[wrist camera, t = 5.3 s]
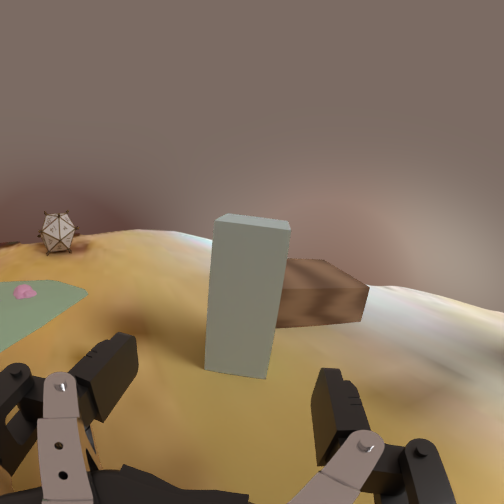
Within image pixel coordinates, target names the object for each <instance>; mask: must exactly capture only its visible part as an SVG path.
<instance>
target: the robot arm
mask: <svg viewBox="0 0 504 504" xmlns="http://www.w3.org/2000/svg"><path fill="white" fill-rule="evenodd" d="M138 365H139V364H138V355H137V345H136V338H135V337H134V336H132V335H128V334H125V333H121V332H118V333H116V334H115V335H114V336H113V337H112V338H111V339H110V340H104V341H102V342H100V343H98V344H97V345H96V346H95V347H94V348H92V349H91V351H89V352H88V353H87V354H86V356H84V357H83V358H82V359H81V360H80V361H79V362H78V363H77V364H76V365H75V366H74V367H73V368H72V369H71V370H70V371H69V372H68V373H66V372H56V373H53V374H51V375H49V376H48V377H47V378H41V377H36V376H32V374H31V371H30V369H29V367H28V366H27V365H26V364H23V363H13V364H10V365H9V366H7V367H6V368H5V369H4V370H3V371H2V372H0V504H254V503H251V502H248V499H249V495H248V494H239V493H232V492H225V491H219V490H184V489H180V488H177V487H175V486H173V485H171V484H169V483H167V482H165V481H164V480H162V479H160V478H158V477H156V476H154V475H153V474H150V473H147V472H144V471H141V470H138V469H136V468H133V467H130V466H127V465H125V464H123V466H122V468H121V470H103V467H102V465H101V462H100V459H99V455H98V451H97V447H96V443H95V439H94V434H93V429H92V425H91V422H92V421H93V420H94V419H95V420H98V421H100V422H102V423H104V421H105V420H106V418H107V417H108V415H109V414H110V412H111V411H112V410H113V408H114V407H115V405H116V404H117V402H118V401H119V399H120V398H121V396H122V395H123V394H124V392H125V391H126V389H127V388H128V386H129V385H130V384H131V382H132V381H133V379H134V378H135V376H136V375H137V372H138ZM16 405H17V406H18V408H19V411H18V412H17V413H16V414H15V416H14V417H13V418H12V419H11V420H10V422H9V423H8V424H7V425H5V418H6V416H7V415H8V414H9V412H10V411H11V410H12V409H13V408H14V407H15V406H16ZM311 413H312V422H313V430H314V440H315V449H316V459H317V466H325V467H324V468H323V469H322V470H321V471H319V472H318V473H317V474H316V475H315V476H314V477H313V478H312V479H311V480H310V481H309V482H308V483H307V484H306V485H305V486H304V487H303V488H302V490H301V491H300V492H299V493H298V494H297V495H296V496H295V497H294V498H293V499H292V500H290V501H289V502H288V503H287V504H353V502H354V501H355V499H356V498H357V497H358V495H359V493H360V492H366V493H373V494H374V501H375V504H456V501H455V498H454V495H453V492H452V489H451V486H450V483H449V480H448V477H447V474H446V472H445V469H444V466H443V464H442V461H441V459H440V456H439V453H438V451H437V449H436V447H435V445H434V444H433V443H431V442H430V441H428V440H426V439H420V438H419V439H413V440H411V441H410V442H409V443H408V444H407V445H406V446H405V447H402V446H395V445H389V444H385V443H384V441H383V439H382V438H381V437H380V436H379V435H378V434H377V433H375V432H372V431H371V429H370V426H369V423H368V420H367V417H366V414H365V411H364V408H363V406H362V402H361V399H360V396H359V393H358V390H357V388H356V387H355V386H354V385H353V384H352V383H351V382H350V381H347V380H343V378H342V375H341V371H340V369H335V368H321V370H320V372H319V375H318V379H317V382H316V385H315V388H314V391H313V394H312V398H311ZM37 439H38V455H39V466H40V475H41V483H42V486H41V487H37V488H33V489H28V490H24V491H18V492H14V490H13V487H12V479H11V477H12V475H13V474H14V472H15V471H16V469H17V468H18V466H19V465H20V463H21V462H22V461H23V459H24V458H25V456H26V455H27V453H28V452H29V450H30V449H31V448H32V446H33V445H34V443H35V442H36V441H37Z"/></svg>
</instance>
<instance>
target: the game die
mask: <svg viewBox="0 0 504 504" xmlns="http://www.w3.org/2000/svg"><path fill="white" fill-rule="evenodd" d="M68 212H69V210H67V211H66V213H59V214H47V213H46V212H45V211H44V214H45V215H46V217H45V220H44V224H43V227H42V230H39V233H41V235H38V237H41V238H42V240H43V242H44V244H45V246H46V248H47V250H48V252H47V256H48V255H49V252H55V251H63V250H69V253H72V251H71V250H70V246H71V243H72V239H73V236H74V233H75V230H76V229H79V227H76V228H75V226H74V225H73V223H72V221H71V220H70V218H69V217H68V215H67V213H68Z"/></svg>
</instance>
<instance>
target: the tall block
mask: <svg viewBox="0 0 504 504" xmlns="http://www.w3.org/2000/svg"><path fill="white" fill-rule="evenodd" d="M290 234H291V229H290V226H289V223H288V221H282V220H276V219H268V218H260V217H252V216H245V215H236V214H228V213H227V214H226V215H224V216H222V217H220V218H218V219H216V220H215V222H214V231H213V242H212V254H211V266H210V279H209V293H208V308H207V325H206V344H205V367H204V370H209V371H214V372H220V373H226V374H232V375H238V376H245V377H252V378H259V379H266V375H267V370H268V365H269V360H270V354H271V349H272V344H273V338H274V333H275V327H276V322H277V316H278V310H279V304H280V299H281V293H282V287H283V280H284V274H285V268H286V262H287V255H288V248H289V241H290Z"/></svg>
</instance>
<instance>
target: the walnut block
mask: <svg viewBox="0 0 504 504" xmlns="http://www.w3.org/2000/svg"><path fill="white" fill-rule="evenodd" d="M369 288H370V287H368V286H367V285H365V284H363V283H362V282H360V281H358V280H357V279H355V278H353V277H352V276H350V275H348V274H347V273H345V272H343V271H342V270H340V269H338V268H336V267H335V266H333V265H331V264H330V263H328V262H326V261H325V260H315V259H292V258H287V262H286V268H285V274H284V280H283V287H282V293H281V299H280V304H279V310H278V316H277V322H276V327H275V328H291V327H306V326H319V325H330V324H341V323H351V322H360V321H361V318H362V315H363V311H364V308H365V304H366V300H367V296H368V292H369Z"/></svg>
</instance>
